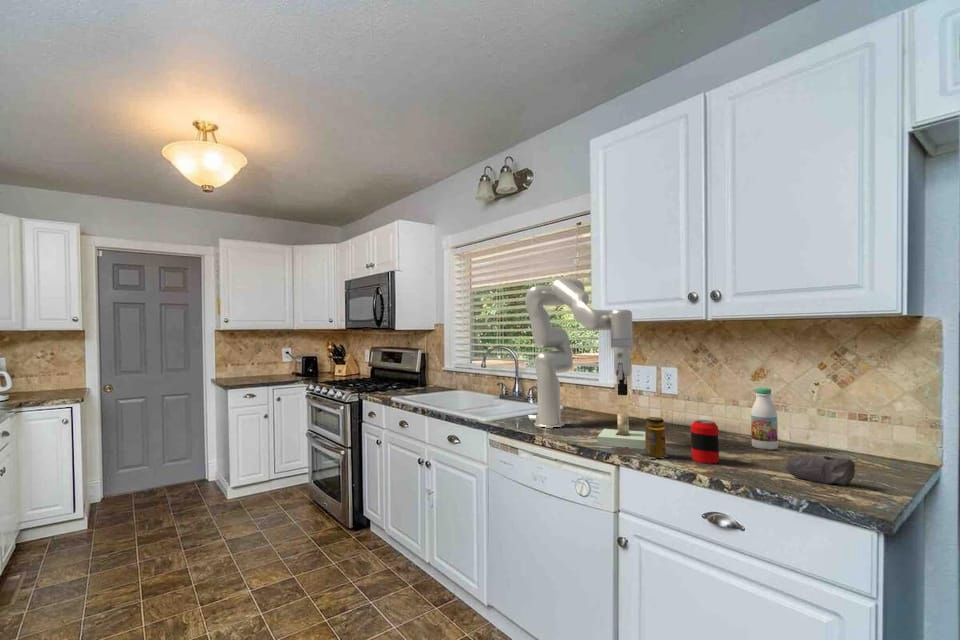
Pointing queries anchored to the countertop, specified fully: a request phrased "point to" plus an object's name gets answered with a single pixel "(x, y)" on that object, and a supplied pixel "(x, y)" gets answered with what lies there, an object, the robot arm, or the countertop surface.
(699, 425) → the soda can
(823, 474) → the perforated stone tool
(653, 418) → the condiment
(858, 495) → the countertop surface
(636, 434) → the board
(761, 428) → the milk bottle
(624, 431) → the peg
